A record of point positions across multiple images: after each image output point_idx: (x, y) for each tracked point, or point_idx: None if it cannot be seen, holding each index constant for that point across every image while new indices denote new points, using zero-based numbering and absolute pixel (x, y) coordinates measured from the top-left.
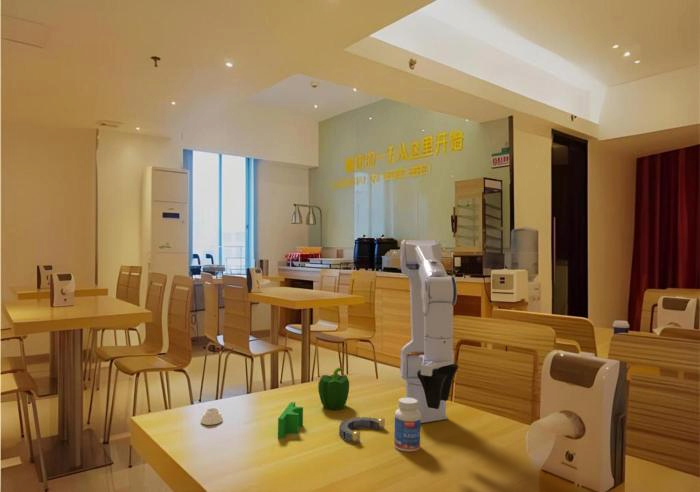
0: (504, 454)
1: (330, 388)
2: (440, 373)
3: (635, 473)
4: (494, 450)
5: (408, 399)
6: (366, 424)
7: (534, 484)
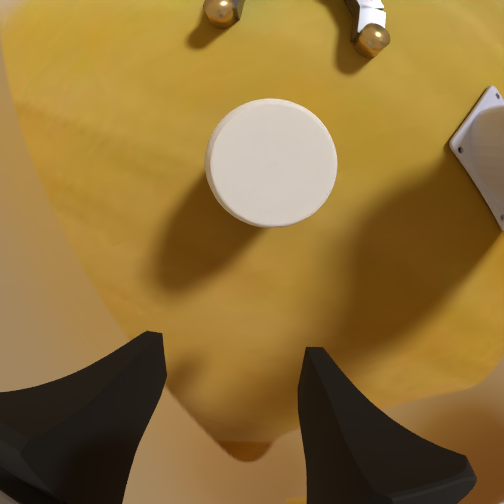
0: None
1: None
2: (330, 492)
3: None
4: None
5: (294, 159)
6: (350, 3)
7: (217, 436)
